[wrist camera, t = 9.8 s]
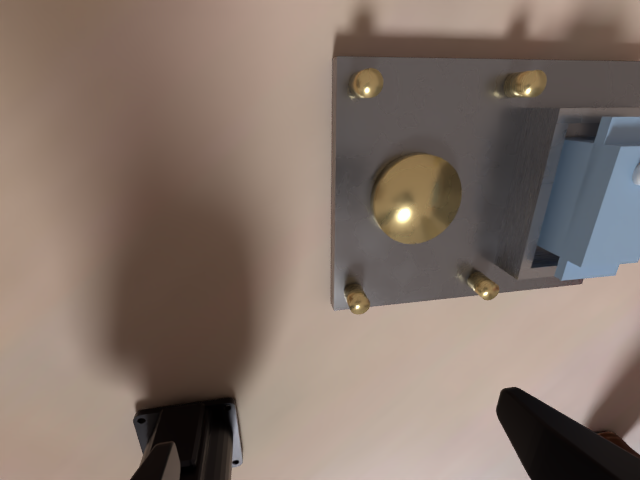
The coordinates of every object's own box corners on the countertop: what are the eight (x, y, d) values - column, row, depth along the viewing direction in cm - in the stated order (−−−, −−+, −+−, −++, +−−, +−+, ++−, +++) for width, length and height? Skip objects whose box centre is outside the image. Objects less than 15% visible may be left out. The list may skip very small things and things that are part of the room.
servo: (567, 248, 22) (652, 287, 18) (513, 253, 22) (585, 295, 17) (609, 114, 19) (725, 117, 14) (547, 114, 18) (647, 118, 14)
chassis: (569, 277, 25) (611, 300, 22) (330, 301, 22) (342, 332, 19) (637, 63, 19) (704, 56, 16) (332, 58, 16) (348, 49, 14)
